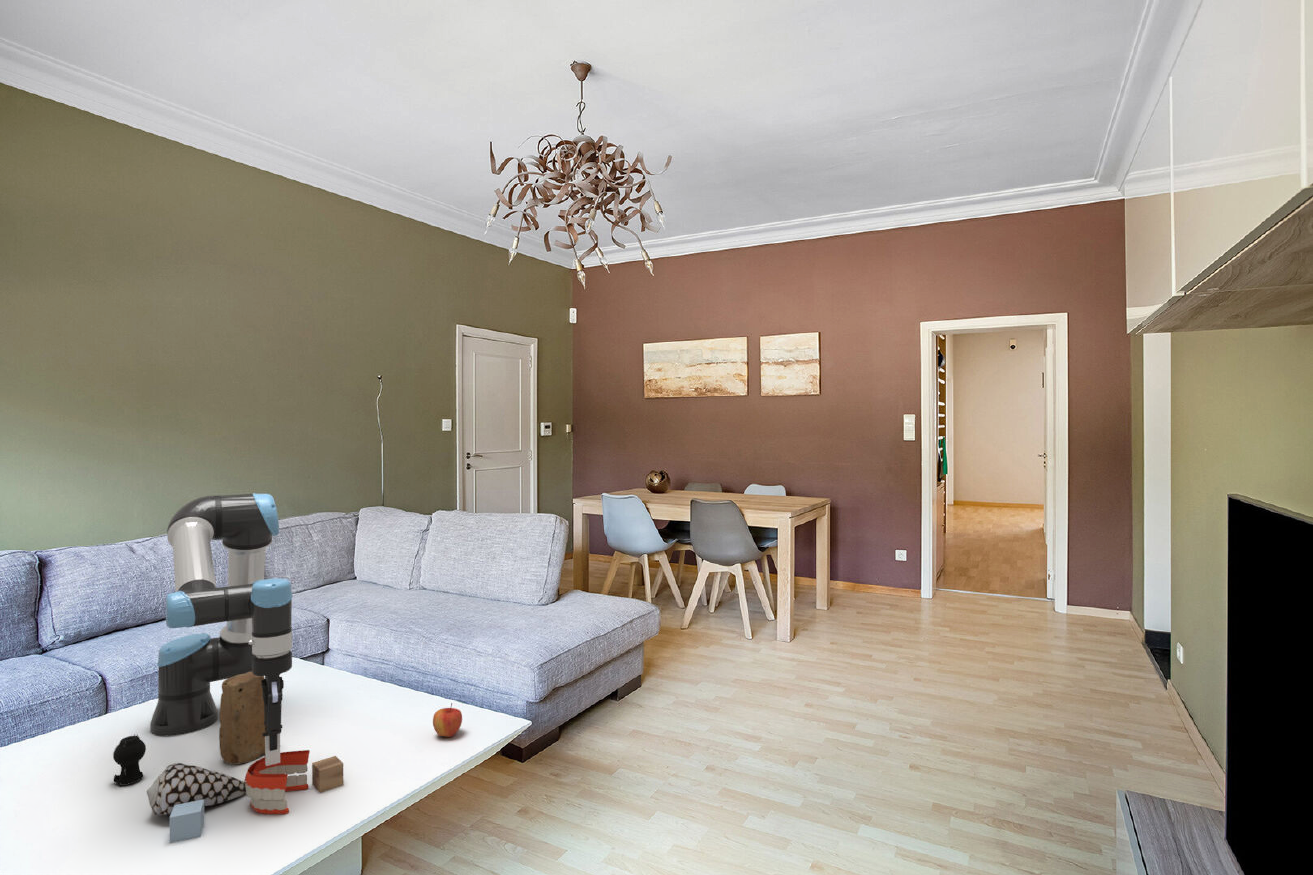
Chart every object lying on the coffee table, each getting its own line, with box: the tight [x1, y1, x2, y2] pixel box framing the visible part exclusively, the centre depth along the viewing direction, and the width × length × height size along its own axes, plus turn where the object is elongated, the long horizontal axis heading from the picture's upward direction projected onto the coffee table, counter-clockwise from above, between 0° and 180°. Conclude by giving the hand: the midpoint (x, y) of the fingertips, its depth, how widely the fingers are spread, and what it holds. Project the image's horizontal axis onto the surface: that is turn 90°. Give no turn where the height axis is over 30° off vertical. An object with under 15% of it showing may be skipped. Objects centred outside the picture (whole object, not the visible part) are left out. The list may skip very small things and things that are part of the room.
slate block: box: [169, 799, 205, 844], centre depth 135 cm, size 5×5×5 cm
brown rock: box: [218, 671, 266, 765], centre depth 168 cm, size 11×8×20 cm
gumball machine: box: [112, 733, 147, 788], centre depth 156 cm, size 7×6×10 cm
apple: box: [432, 702, 463, 738], centre depth 179 cm, size 7×7×8 cm
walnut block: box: [311, 755, 344, 794], centre depth 154 cm, size 5×5×5 cm
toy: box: [244, 749, 310, 815], centre depth 147 cm, size 12×10×8 cm
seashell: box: [146, 762, 246, 817], centre depth 146 cm, size 16×13×10 cm
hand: (272, 762), depth 147 cm, fingers closed, pressing on toy
